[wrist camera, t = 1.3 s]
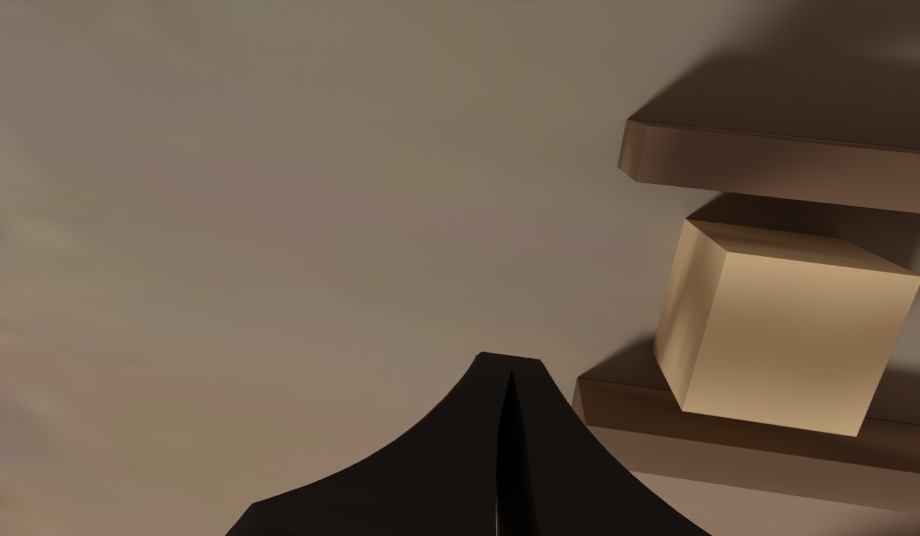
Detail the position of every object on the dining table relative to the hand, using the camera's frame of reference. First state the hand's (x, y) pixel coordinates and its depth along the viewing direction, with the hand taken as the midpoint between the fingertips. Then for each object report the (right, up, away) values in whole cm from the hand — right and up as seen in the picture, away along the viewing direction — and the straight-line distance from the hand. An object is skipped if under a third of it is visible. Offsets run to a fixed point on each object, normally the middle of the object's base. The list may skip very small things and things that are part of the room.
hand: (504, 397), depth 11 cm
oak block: (+9, +2, +7) cm, 12 cm away
